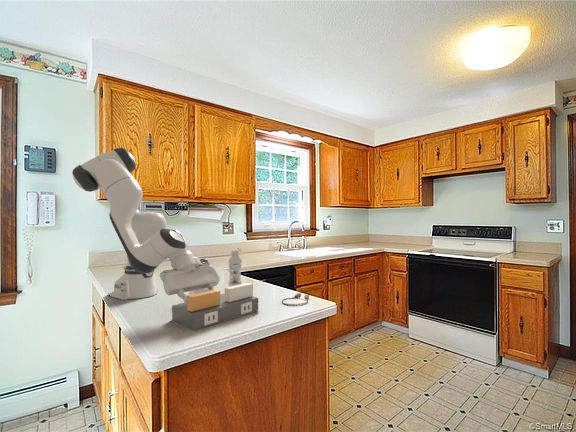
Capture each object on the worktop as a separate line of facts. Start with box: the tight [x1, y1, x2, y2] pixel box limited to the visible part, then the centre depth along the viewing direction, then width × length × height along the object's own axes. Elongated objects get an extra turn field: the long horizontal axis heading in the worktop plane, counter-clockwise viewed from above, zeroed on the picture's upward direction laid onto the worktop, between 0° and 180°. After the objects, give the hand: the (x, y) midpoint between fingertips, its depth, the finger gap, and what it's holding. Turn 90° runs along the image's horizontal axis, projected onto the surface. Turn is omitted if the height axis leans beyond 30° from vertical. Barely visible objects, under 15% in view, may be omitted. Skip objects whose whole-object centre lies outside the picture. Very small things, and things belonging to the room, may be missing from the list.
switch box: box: [171, 293, 259, 331], centre depth 110 cm, size 22×27×5 cm
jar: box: [188, 288, 210, 295], centre depth 130 cm, size 9×8×12 cm
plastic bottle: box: [227, 249, 243, 287], centre depth 142 cm, size 6×7×20 cm
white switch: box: [224, 282, 254, 302], centre depth 112 cm, size 3×11×5 cm, turn 137°
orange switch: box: [186, 289, 221, 312], centre depth 101 cm, size 3×11×5 cm, turn 137°
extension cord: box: [281, 292, 310, 307], centre depth 127 cm, size 12×16×2 cm
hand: (200, 298), depth 102 cm, fingers open, 8 cm apart
